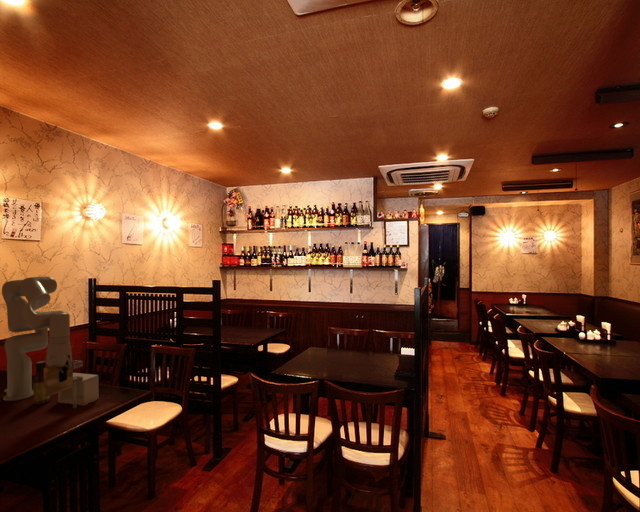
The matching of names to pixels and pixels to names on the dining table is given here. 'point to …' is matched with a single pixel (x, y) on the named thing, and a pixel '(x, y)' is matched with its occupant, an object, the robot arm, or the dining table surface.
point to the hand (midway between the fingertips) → (59, 380)
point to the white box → (81, 391)
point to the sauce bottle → (40, 384)
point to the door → (53, 382)
